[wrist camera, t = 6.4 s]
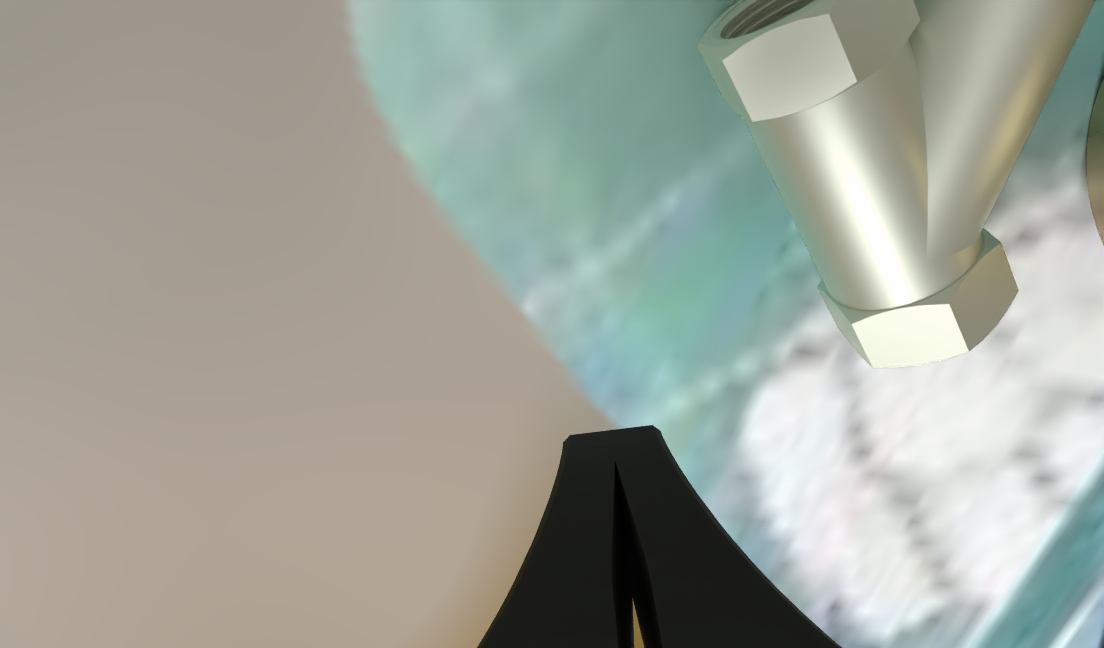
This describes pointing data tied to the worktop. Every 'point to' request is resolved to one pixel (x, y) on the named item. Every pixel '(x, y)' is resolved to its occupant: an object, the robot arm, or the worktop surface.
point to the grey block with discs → (1096, 162)
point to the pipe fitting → (896, 148)
